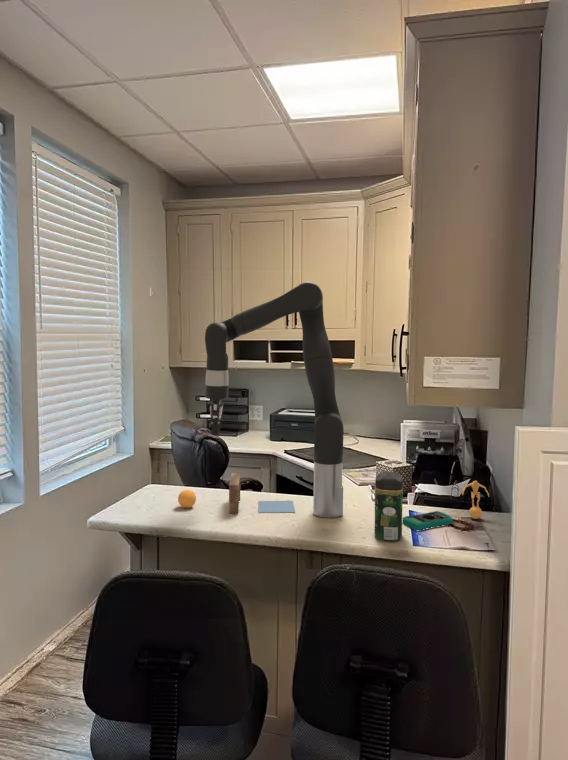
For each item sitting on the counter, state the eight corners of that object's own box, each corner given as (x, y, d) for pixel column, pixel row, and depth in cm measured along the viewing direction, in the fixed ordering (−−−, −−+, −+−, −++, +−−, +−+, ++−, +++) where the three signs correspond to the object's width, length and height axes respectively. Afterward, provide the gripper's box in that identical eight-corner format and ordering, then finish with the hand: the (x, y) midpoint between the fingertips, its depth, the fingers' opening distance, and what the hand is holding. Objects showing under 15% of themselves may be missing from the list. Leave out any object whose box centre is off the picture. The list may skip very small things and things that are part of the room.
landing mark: (292, 501, 181) (292, 500, 181) (295, 512, 169) (295, 512, 169) (258, 501, 181) (258, 500, 181) (258, 512, 169) (258, 512, 169)
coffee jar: (374, 529, 155) (376, 468, 154) (401, 531, 154) (403, 470, 152) (373, 541, 146) (374, 476, 144) (401, 544, 144) (403, 478, 143)
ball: (197, 504, 177) (197, 487, 176) (195, 510, 171) (194, 492, 170) (179, 504, 177) (179, 487, 176) (176, 510, 171) (176, 492, 170)
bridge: (240, 500, 182) (240, 473, 181) (238, 514, 167) (238, 485, 166) (231, 500, 182) (231, 473, 181) (229, 514, 167) (229, 485, 166)
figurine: (462, 520, 164) (464, 482, 163) (460, 513, 170) (461, 477, 169) (490, 521, 162) (491, 484, 161) (486, 515, 168) (488, 479, 167)
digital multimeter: (454, 525, 160) (455, 516, 160) (417, 533, 154) (417, 523, 154) (438, 518, 167) (438, 509, 167) (401, 525, 160) (401, 515, 160)
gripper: (227, 386, 163) (226, 437, 164) (229, 382, 177) (228, 429, 178) (203, 385, 162) (202, 436, 164) (207, 381, 176) (206, 428, 178)
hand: (216, 432), depth 171 cm, fingers open, 8 cm apart
